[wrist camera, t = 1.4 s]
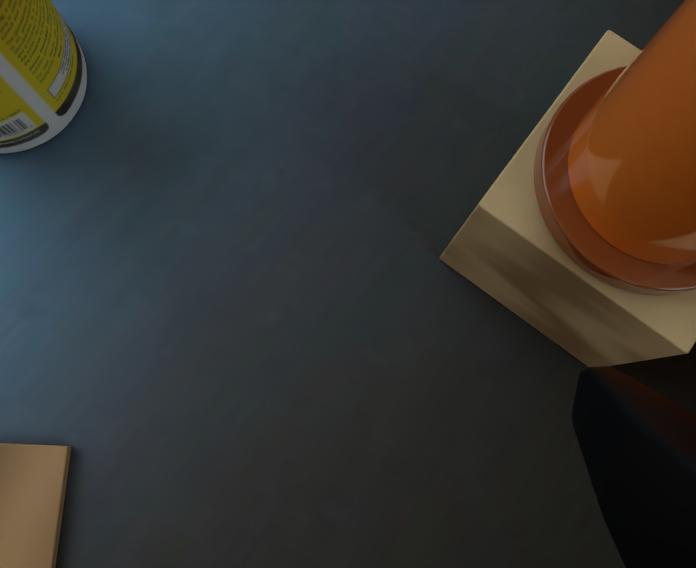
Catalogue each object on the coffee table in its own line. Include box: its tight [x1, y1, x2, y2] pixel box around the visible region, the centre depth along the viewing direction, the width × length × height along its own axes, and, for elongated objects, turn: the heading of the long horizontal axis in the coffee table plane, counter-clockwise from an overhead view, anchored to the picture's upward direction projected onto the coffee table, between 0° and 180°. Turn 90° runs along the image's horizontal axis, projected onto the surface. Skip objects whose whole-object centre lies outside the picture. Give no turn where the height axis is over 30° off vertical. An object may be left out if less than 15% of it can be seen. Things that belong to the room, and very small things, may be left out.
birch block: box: [440, 30, 696, 367], centre depth 21 cm, size 7×7×6 cm
